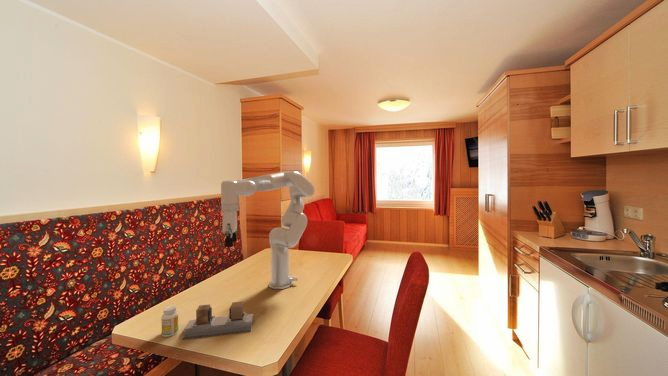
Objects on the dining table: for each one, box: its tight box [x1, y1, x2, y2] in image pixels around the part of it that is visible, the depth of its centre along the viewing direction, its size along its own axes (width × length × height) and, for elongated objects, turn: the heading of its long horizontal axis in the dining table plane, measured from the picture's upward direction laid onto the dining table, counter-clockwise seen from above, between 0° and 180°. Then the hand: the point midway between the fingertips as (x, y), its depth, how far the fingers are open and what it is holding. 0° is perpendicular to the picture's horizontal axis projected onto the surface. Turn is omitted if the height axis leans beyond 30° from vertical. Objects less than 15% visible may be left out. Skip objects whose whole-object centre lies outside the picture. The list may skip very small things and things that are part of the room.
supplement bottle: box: [161, 305, 179, 338], centre depth 98 cm, size 5×5×10 cm
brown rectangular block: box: [195, 303, 213, 325], centre depth 100 cm, size 5×4×6 cm
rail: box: [181, 301, 255, 341], centre depth 101 cm, size 24×10×9 cm, turn 102°
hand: (231, 244), depth 120 cm, fingers open, 9 cm apart
